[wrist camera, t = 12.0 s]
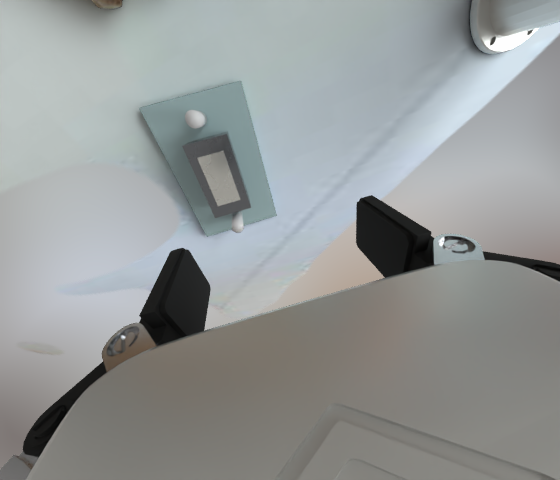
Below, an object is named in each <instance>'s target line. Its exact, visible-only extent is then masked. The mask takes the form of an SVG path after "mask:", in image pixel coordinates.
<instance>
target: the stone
mask: <svg viewBox="0 0 560 480" xmlns="http://www.w3.org/2000/svg"><path fill="white" fill-rule="evenodd" d="M92 1H93V2H94V3H95V5H96V6H97V7H98V8H107V9H113V8H118V7H122V1H123V0H92Z"/></svg>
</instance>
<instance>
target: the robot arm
mask: <svg viewBox="0 0 560 480" xmlns="http://www.w3.org/2000/svg"><path fill="white" fill-rule="evenodd" d="M557 22H560V0H472V4H471V12H470V28H471V34H472V38H473V40H474V43H475V45H476V46H477V47H478V48H479V50H481V51H483V52H484V53H487V54H498V53H502V52H506V51H509V50H512V49H513V48H515V47H517V46H519V45H520V44H522V43H523V42H524V41H526V40H527V39H528V38H529V37H530V36H531V35H533V34H534V33H535V32H536V31H537V30H538V28H540V27H543V26H547V25H550V24H554V23H557ZM356 224H357V225H356V227H357V228H356V243H357V246H358V248H359V249H360V250H361V251H362V252H363V253H364V255H365V256H366V257H367V258H368V259H369V260H370V261H371V262H372V264H373V265H374V266H375V267H376V268H377V269H378V270H379V271H380V272H381V274H383V276H384V277H385V278H383V279H380V280H376V281H373V282H369V283H366V284H363V285H359V286H355V287H352V288H348V289H345V290H341V291H338V292H334V293H331V294H327V295H324V296H321V297H317V298H314V299H310V300H307V301H303V302H300V303H296V304H293V305H289V306H286V307H283V308H279V309H276V310H272V311H269V312H266V313H262V314H259V315H255V316H252V317H249V318H245V319H242V320H239V321H235V322H232V323H228V324H225V325H222V326H218V327H215V328H212V329H209V330H205V331H204V327H205V321H206V315H207V308H208V302H209V296H210V285H209V283H208V281H207V279H206V278H205V276H204V274H203V273H202V271H201V269H200V268H199V266H198V265H197V263H196V261H195V260H194V258H193V256H192V255H191V253H190V251H189V250H185V249H184V248H180V249H177V250H173V251H171V252H170V254H169V256H168V258H167V260H166V262H165V264H164V266H163V268H162V270H161V272H160V274H159V276H158V279H157V281H156V283H155V285H154V287H153V289H152V291H151V293H150V295H149V297H148V299H147V301H146V303H145V305H144V307H143V309H142V312H141V313H140V315H139V316H140V317H141V320H140V322H139V323H133V324H129V325H127V326H125V327H124V328H122V329H120V330H119V331H118V332H117V333H115V334H114V335H113V336H112V337H111V338H110V339H109V341H108V342H107V343H106V345H105V346H104V348H103V351H102V359H103V362H102V363H101V364H100V365H99V366H97V367H96V368H95V369H94V370H93V371H92V372H90V373H89V374H88V375H87V376H86V377H85V378H83V379H82V380H81V381H80V382H79V383H77V384H76V385H75V386H74V387H73V388H72V389H70V390H69V391H68V392H67V393H66V394H65V395H63V396H62V397H61V398H60V399H59V400H58V401H57V402H55V403H54V404H53V405H52V406H51V407H50V408H48V409H47V410H46V411H45V412H44V413H43V414H42V415H41V416H40V417H39V418H38V420H37V421H36V422H35V424H34V425H33V427H32V428H31V429H30V431H29V433H28V434H27V437H26V439H25V441H24V445H23V452H22V453H21V454H20V456H16V455H13V456H12V458H11V459H10V460H9V461H8V462H7V463H6V464H5V465H4V466H3V467H2V468H1V470H0V480H560V265H559V264H556V263H551V262H545V261H540V260H534V259H528V258H520V257H515V256H508V255H502V254H496V253H490V252H483V251H482V248H481V246H480V244H479V243H478V242H476V241H475V240H473V239H471V238H469V237H466V236H463V235H458V234H442V235H439V236H437V237H436V238H433V237H432V236H431V231H429V230H427V229H426V228H424V227H422V226H421V225H419V224H418V223H416V222H414V221H413V220H411V219H409V218H408V217H406V216H404V215H403V214H401V213H400V212H398V211H397V210H395V209H393V208H392V207H390V206H388V205H387V204H385V203H384V202H382V201H380V200H379V199H377V198H375V197H374V196H372V195H371V196H367V197H364V198H361V199H360V200H359V202H357V222H356Z"/></svg>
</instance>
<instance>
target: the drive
mask: <svg viewBox="0 0 560 480" xmlns="http://www.w3.org/2000/svg"><path fill="white" fill-rule="evenodd" d="M182 147H183V149H184V152H185V154H186V156H187V158H188V160H189V162H190V165H191V167H192V169H193V171H194V173H195V176H196V178H197V180H198V182H199V184H200V186H201V189H202V191H203V193H204V195H205V197H206V199H207V202H208V204H209V206H210V208H211V210H212V213H213V215H214V217H215V218H218V217H221V216H225V215H228V214H231V213H235V212H238V211H242V210H245V209H249V208H251V204H250V199H249V195H248V192H247V189H246V186H245V183H244V180H243V177H242V174H241V170H240V167H239V164H238V161H237V158H236V155H235V152H234V149H233V146H232V143H231V140H230V137H229V134H228V131H227V132H223V133H220V134H216V135H212V136H209V137H205V138H201V139H197V140H194V141H190V142H188V143H186V144H185V145H183V146H182Z"/></svg>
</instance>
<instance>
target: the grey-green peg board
mask: <svg viewBox="0 0 560 480" xmlns="http://www.w3.org/2000/svg"><path fill="white" fill-rule="evenodd" d="M139 109H140V111H141V113H142V115H143V116H144V118H145V120H146V122H147V124H148V126H149V128H150V130H151V132H152V134H153V135H154V137H155V139H156V141H157V143H158V145H159V147H160V149H161V151H162V153H163V154H164V156H165V158H166V160H167V162H168V164H169V166H170V168H171V170H172V172H173V173H174V175H175V177H176V179H177V181H178V183H179V185H180V187H181V189H182V191H183V192H184V194H185V196H186V198H187V200H188V202H189V204H190V206H191V208H192V210H193V211H194V213H195V215H196V217H197V219H198V221H199V223H200V225H201V227H202V229H203V230H204V232H205V234H206V236H207V237H208V236H212V235H215V234H218V233H221V232H225V231H228V230H231V229H232V230H233V231H234V232H236V233H239V232H241V231H243V229H244V225H248V224H251V223H254V222H258V221H261V220H264V219H267V218H271V217H274V216H277V214H276V211H275V207H274V203H273V199H272V195H271V192H270V188H269V184H268V180H267V177H266V173H265V169H264V165H263V162H262V158H261V154H260V150H259V146H258V143H257V139H256V135H255V131H254V128H253V124H252V120H251V116H250V113H249V109H248V105H247V101H246V97H245V94H244V90H243V86H242V82H241V81H238V82H234V83H230V84H227V85H223V86H219V87H215V88H212V89H208V90H204V91H201V92H197V93H193V94H189V95H186V96H182V97H178V98H174V99H171V100H167V101H163V102H160V103H156V104H152V105H148V106H145V107H141V108H139ZM227 131H228V134H229V137H230V140H231V143H232V146H233V149H234V152H235V155H236V158H237V161H238V164H239V167H240V170H241V174H242V177H243V180H244V183H245V186H246V189H247V192H248V195H249V199H250V204H251V208H249V209H245V210H242V211H238V212H235V213H231V214H228V215H225V216H221V217H218V218H215V217H214V215H213V213H212V210H211V208H210V206H209V204H208V202H207V199H206V197H205V195H204V193H203V191H202V189H201V186H200V184H199V182H198V180H197V178H196V176H195V173H194V171H193V169H192V167H191V165H190V162H189V160H188V158H187V156H186V154H185V152H184V149H183V147H182V146H183V145H185V144H186V143H188V142H190V141H194V140H197V139H201V138H205V137H209V136H212V135H216V134H220V133H223V132H227Z"/></svg>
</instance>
